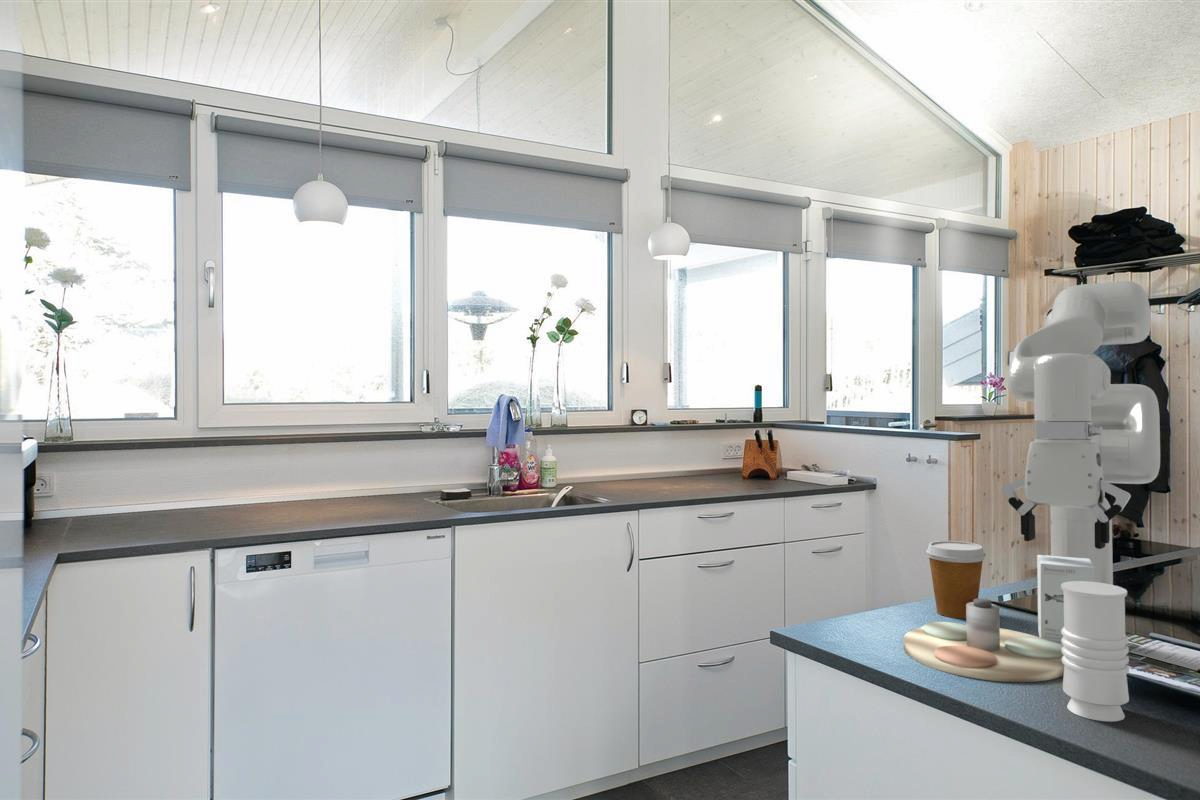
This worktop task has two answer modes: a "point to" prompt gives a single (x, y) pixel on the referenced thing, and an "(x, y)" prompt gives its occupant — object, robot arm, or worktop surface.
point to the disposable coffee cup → (955, 575)
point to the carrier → (984, 648)
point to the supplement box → (1057, 590)
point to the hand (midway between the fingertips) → (1063, 543)
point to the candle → (1095, 649)
